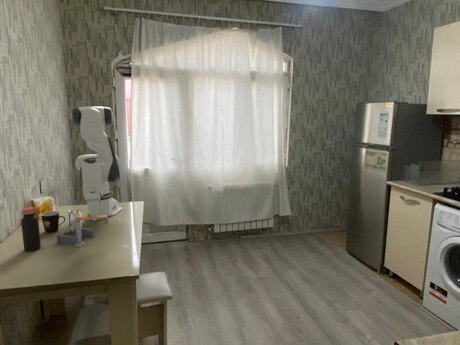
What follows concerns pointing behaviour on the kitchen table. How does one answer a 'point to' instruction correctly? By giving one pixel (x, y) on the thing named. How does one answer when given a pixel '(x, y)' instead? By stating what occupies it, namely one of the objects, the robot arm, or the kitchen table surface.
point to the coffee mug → (51, 221)
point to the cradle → (75, 240)
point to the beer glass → (73, 221)
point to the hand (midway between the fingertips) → (95, 220)
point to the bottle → (30, 230)
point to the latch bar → (92, 218)
